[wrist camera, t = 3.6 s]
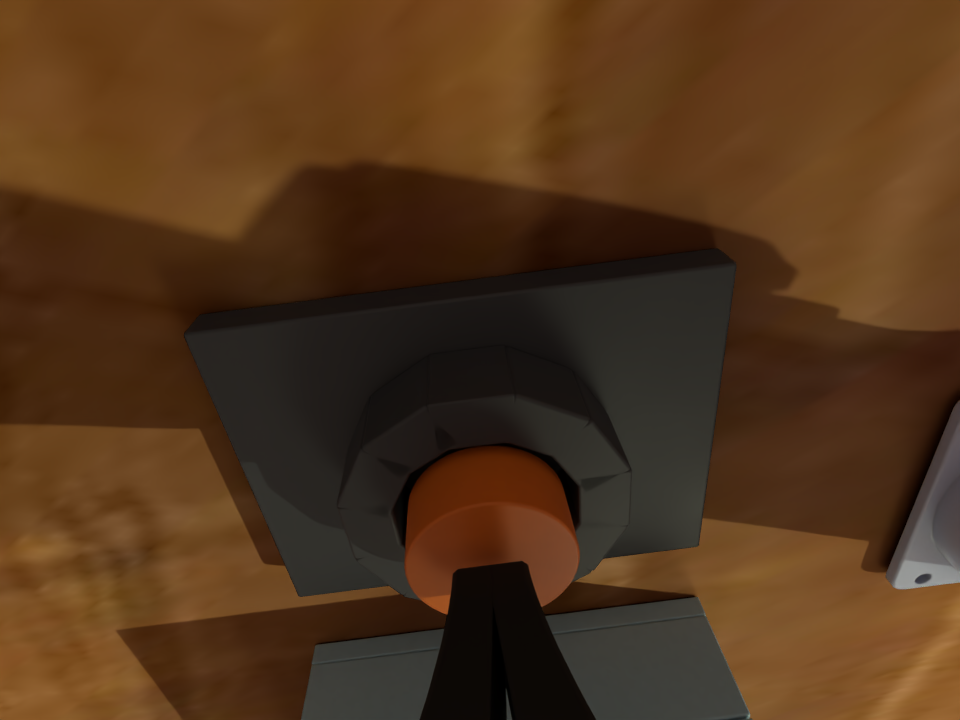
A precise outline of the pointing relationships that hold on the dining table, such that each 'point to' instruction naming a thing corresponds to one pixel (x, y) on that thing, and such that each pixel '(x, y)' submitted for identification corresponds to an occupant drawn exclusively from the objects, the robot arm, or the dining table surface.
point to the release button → (488, 522)
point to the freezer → (586, 649)
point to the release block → (475, 404)
